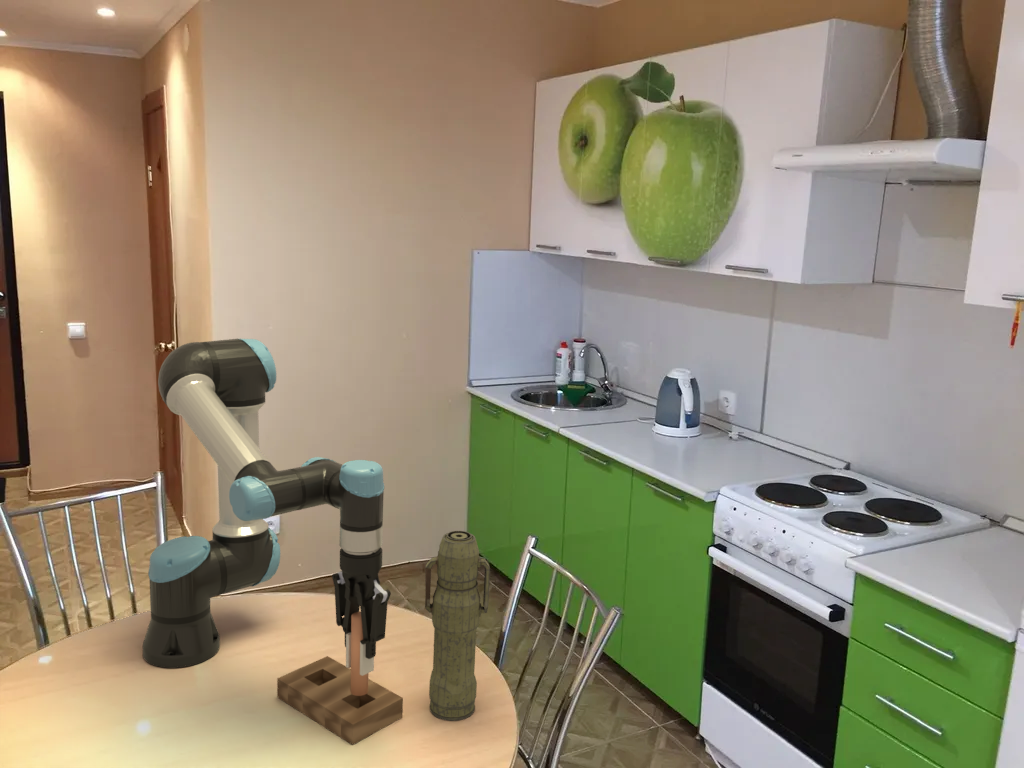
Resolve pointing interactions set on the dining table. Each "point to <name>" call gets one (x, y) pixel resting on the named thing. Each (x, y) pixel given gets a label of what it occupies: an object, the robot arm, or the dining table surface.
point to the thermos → (455, 624)
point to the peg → (357, 657)
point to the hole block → (339, 700)
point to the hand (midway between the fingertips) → (359, 668)
